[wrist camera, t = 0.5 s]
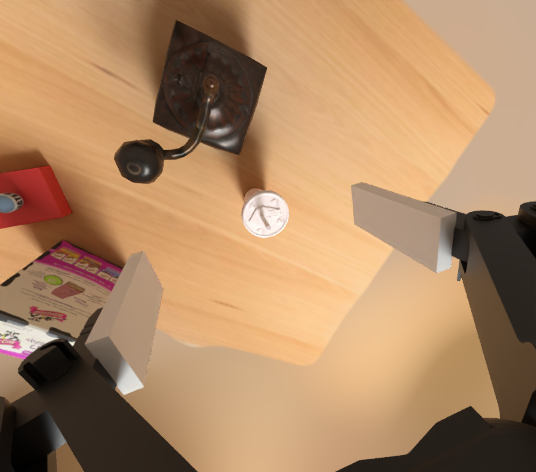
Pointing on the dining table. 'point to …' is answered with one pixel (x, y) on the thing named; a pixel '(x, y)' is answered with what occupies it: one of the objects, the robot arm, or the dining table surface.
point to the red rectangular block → (30, 197)
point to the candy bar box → (53, 298)
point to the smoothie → (264, 212)
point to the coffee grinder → (197, 102)
